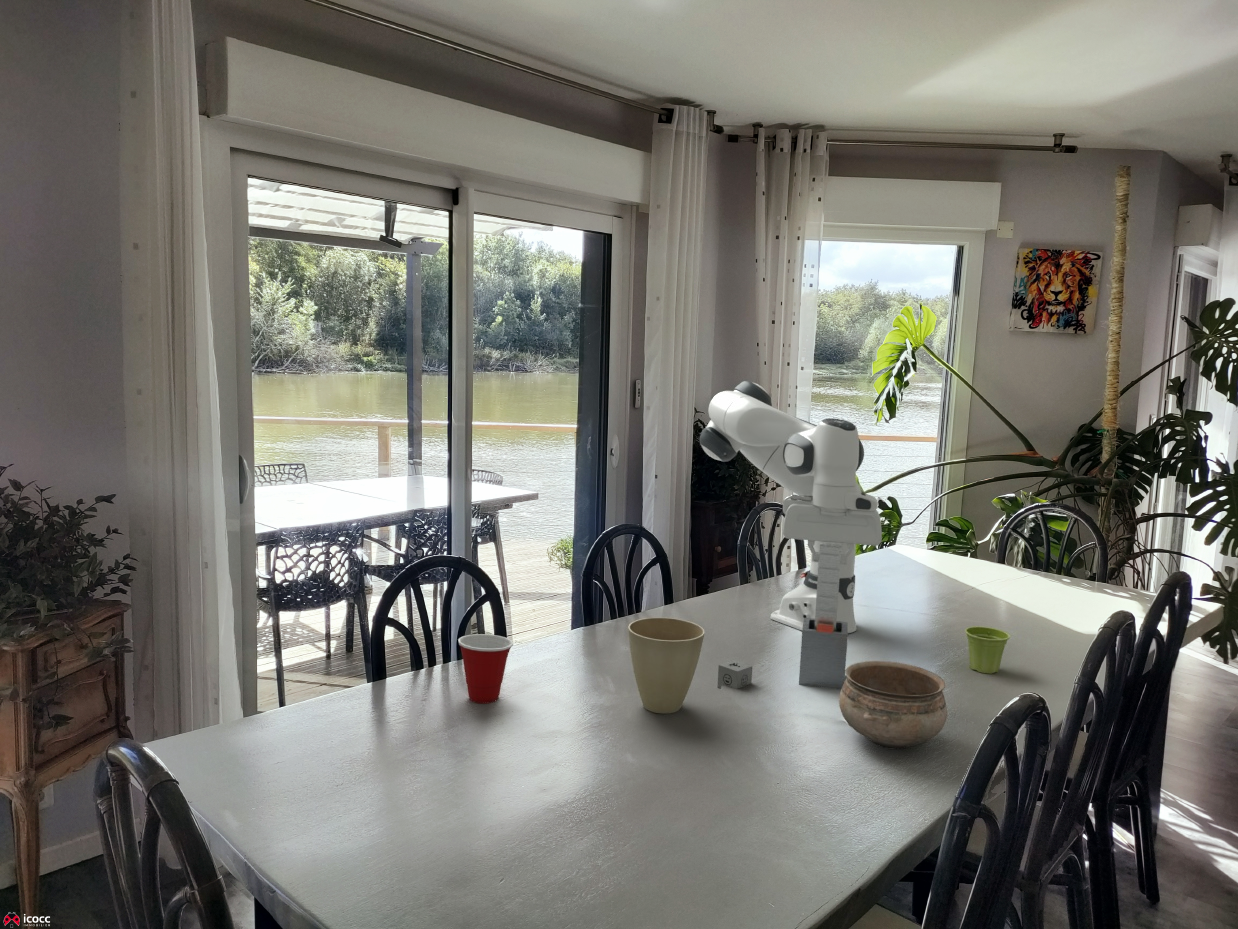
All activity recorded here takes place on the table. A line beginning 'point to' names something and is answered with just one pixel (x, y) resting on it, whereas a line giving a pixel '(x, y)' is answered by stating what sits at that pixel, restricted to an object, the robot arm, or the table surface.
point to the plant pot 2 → (986, 648)
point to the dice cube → (734, 674)
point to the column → (828, 584)
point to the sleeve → (823, 654)
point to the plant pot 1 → (664, 660)
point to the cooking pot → (893, 703)
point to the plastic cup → (484, 665)
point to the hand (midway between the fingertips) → (829, 562)
